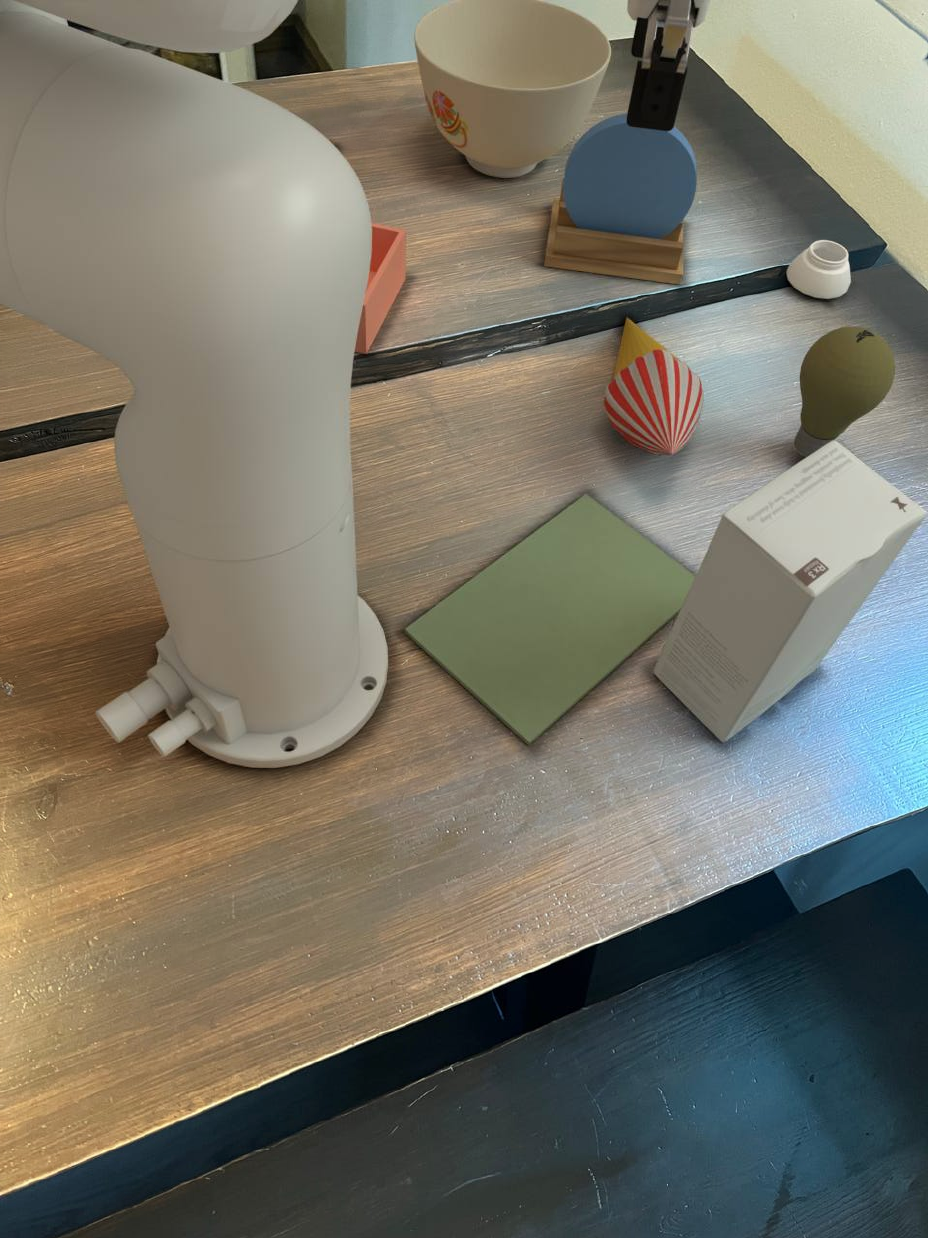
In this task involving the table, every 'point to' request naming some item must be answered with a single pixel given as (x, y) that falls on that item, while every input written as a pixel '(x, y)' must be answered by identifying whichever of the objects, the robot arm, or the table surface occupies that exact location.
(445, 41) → the bowl
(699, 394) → the ice cream cone
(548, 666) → the mat
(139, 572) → the table surface
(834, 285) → the white jar
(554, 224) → the rack
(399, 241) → the red open box
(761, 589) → the cosmetic box
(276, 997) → the table surface
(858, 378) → the light bulb
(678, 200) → the disc
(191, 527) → the robot arm
